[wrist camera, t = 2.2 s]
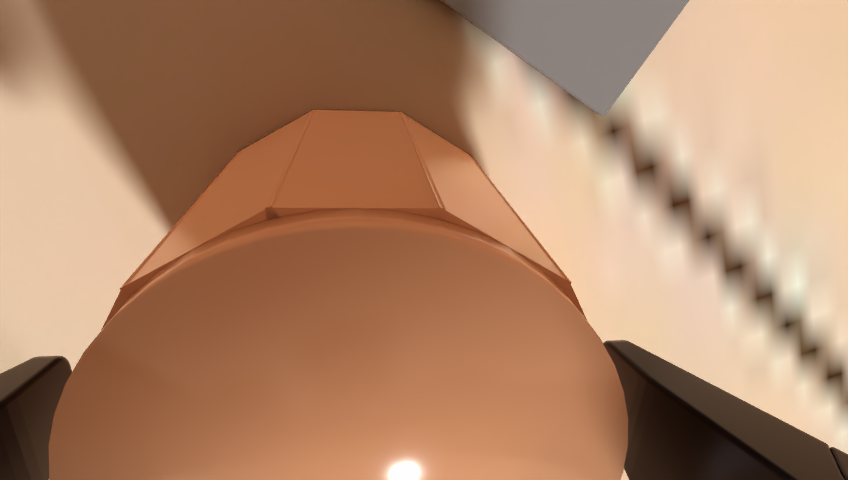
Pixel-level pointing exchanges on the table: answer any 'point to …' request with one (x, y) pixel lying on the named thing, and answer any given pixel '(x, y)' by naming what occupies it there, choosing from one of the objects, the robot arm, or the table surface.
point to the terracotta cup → (345, 329)
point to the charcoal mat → (577, 39)
